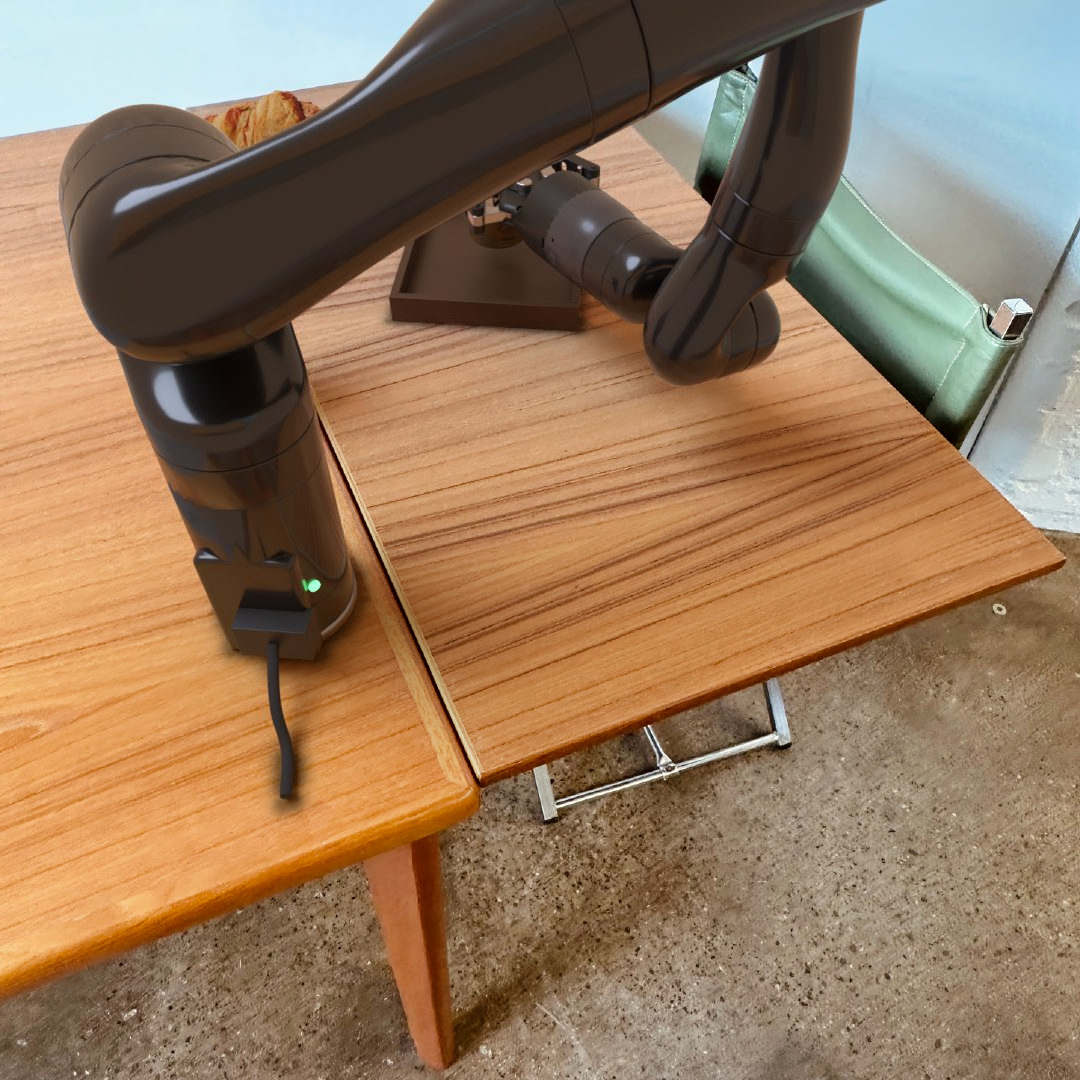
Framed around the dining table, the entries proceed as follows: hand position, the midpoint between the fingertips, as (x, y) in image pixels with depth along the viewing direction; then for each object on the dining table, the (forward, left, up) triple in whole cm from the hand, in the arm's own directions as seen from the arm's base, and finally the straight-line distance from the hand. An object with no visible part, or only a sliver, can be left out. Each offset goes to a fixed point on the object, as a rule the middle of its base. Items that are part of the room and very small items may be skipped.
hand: (481, 155), depth 87 cm
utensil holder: (-2, -2, -7) cm, 8 cm away
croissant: (+19, +27, -10) cm, 34 cm away
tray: (-2, -1, -10) cm, 10 cm away
